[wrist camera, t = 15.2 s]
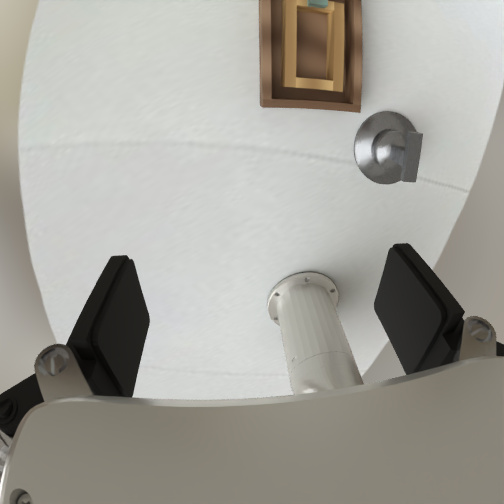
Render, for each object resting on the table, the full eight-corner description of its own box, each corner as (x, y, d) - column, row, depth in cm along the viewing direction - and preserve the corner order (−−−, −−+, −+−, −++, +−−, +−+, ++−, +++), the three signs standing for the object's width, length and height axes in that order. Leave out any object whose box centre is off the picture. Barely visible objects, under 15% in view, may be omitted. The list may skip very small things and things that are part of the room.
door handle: (412, 185, 41) (436, 202, 35) (350, 182, 40) (369, 200, 34) (421, 117, 35) (449, 126, 29) (356, 107, 34) (379, 113, 29)
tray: (349, 109, 35) (360, 112, 32) (260, 105, 34) (262, 107, 31) (349, -4, 26) (360, -10, 23) (258, -14, 25) (261, -23, 22)
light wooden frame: (336, 8, 26) (348, 0, 23) (334, 91, 33) (347, 92, 29) (281, 1, 26) (288, -9, 22) (280, 86, 32) (287, 86, 29)
